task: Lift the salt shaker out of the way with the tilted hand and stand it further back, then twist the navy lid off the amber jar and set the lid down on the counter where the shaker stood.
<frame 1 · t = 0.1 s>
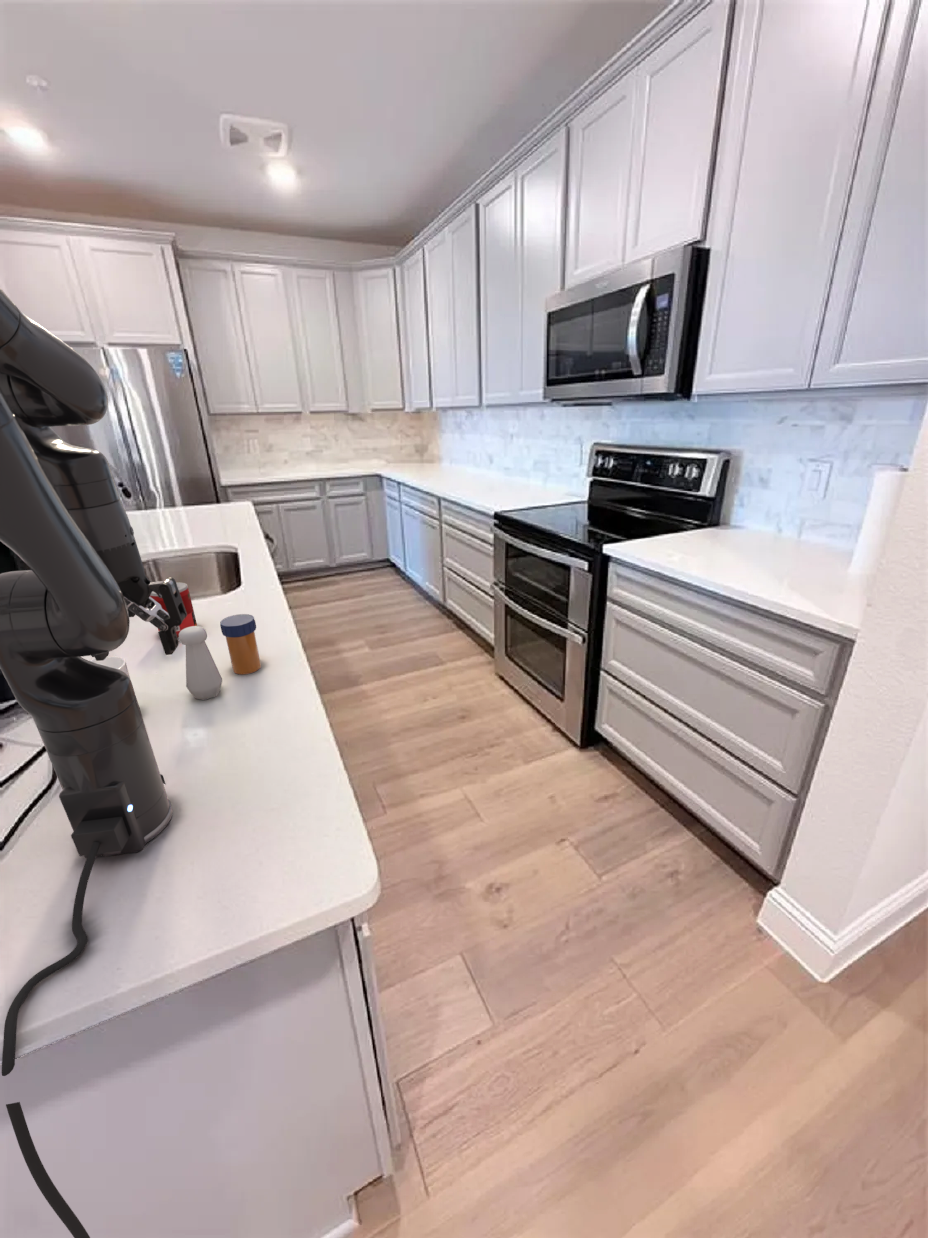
hand: (137, 654, 69), 17 cm above the table, tool pointing down, fingers open, 8 cm apart
white cup: (115, 721, 85), on the table
canned food: (179, 632, 118), on the table
salt shaker: (207, 694, 92), on the table
jar: (247, 668, 101), on the table
lid: (237, 621, 97), point 10 cm above the table, screwed on, not yet turned
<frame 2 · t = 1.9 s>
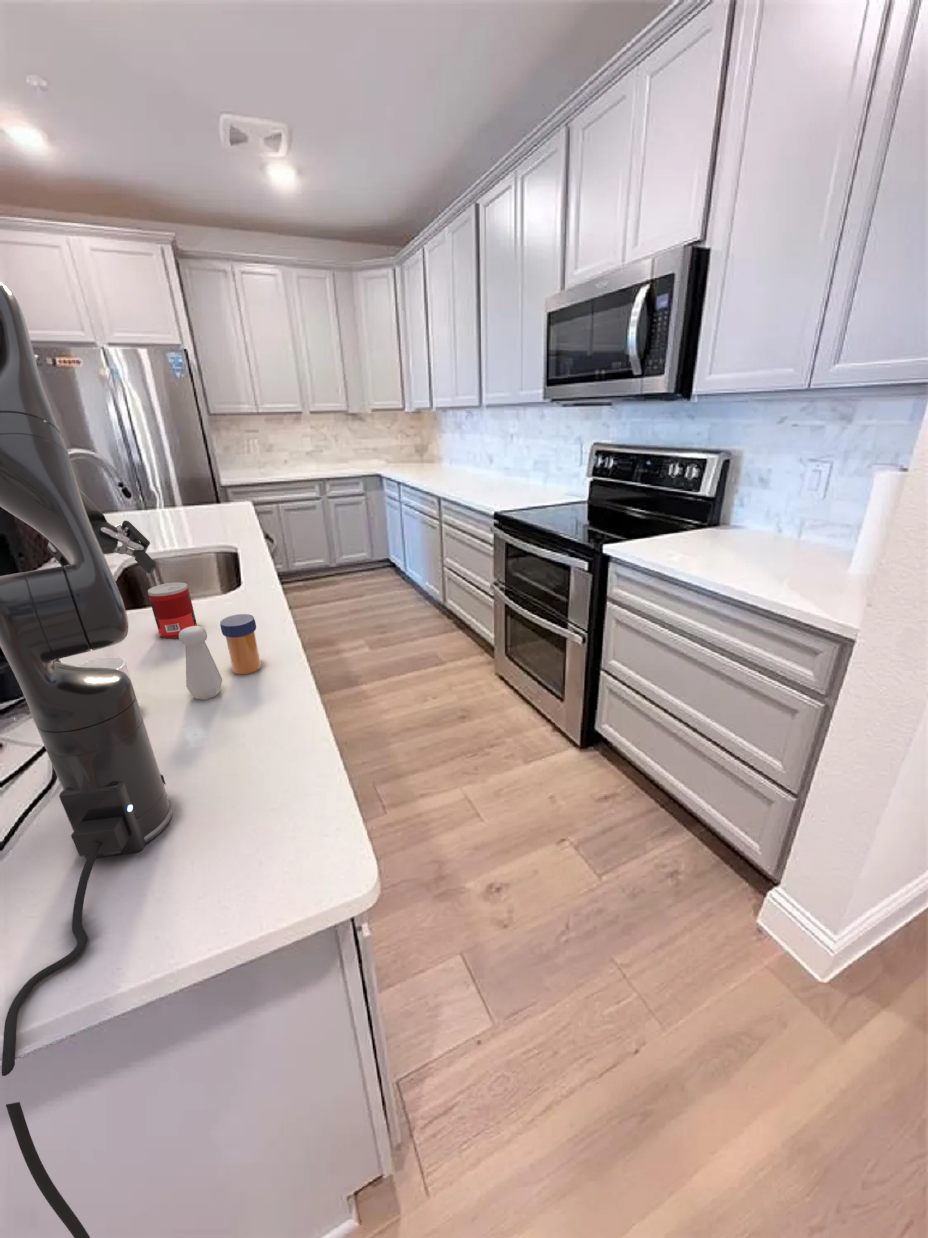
hand: (130, 577, 88), 21 cm above the table, tool tilted 45°, fingers open, 8 cm apart
nothing on the table moved.
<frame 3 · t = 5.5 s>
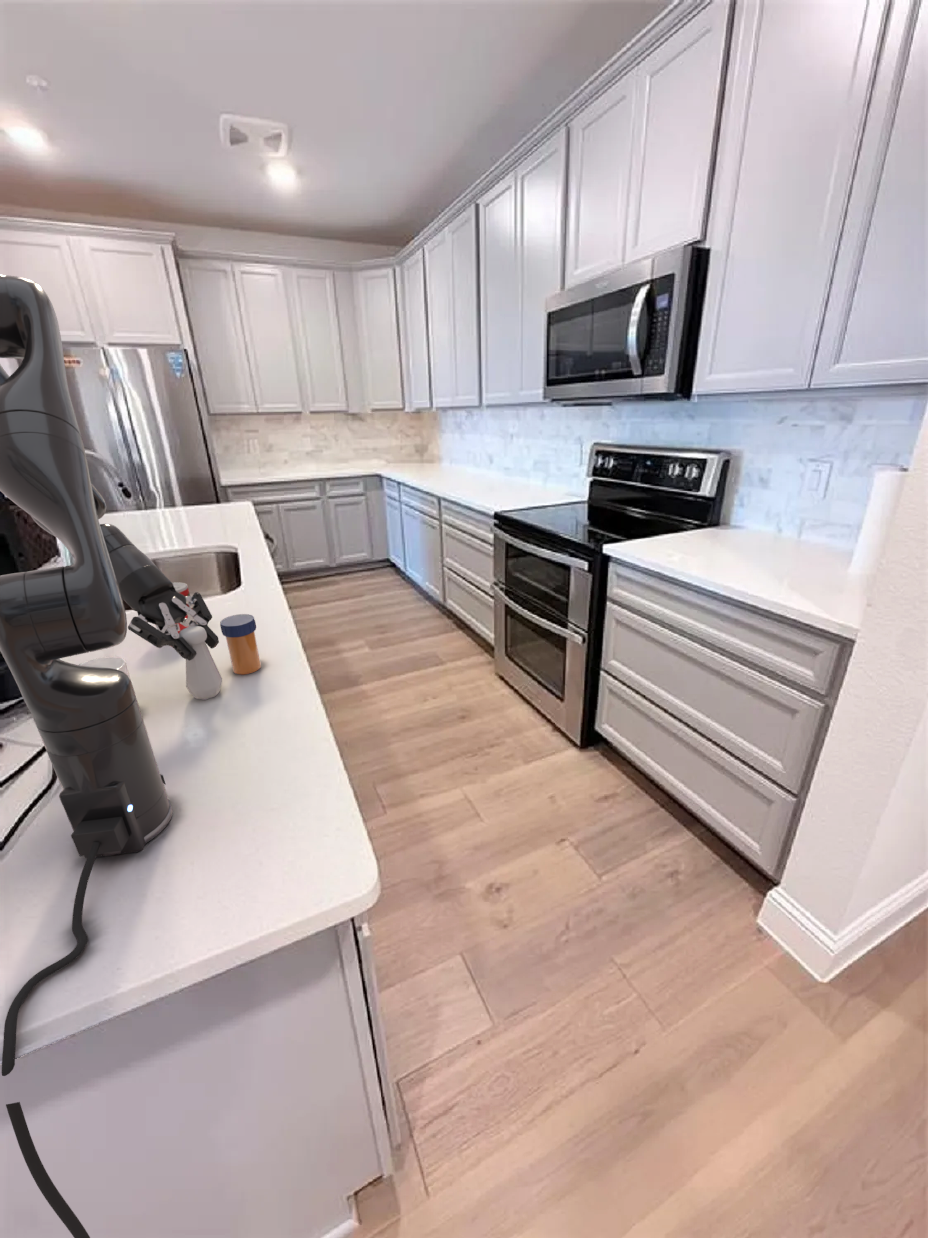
hand: (204, 650, 88), 9 cm above the table, tool tilted 45°, fingers closed on salt shaker, 4 cm apart
salt shaker: (207, 694, 92), on the table, touching gripper
everything else where it was.
when the fingers open (9 cm above the table, at t = 13.6 s): salt shaker stays where it is, on the table.
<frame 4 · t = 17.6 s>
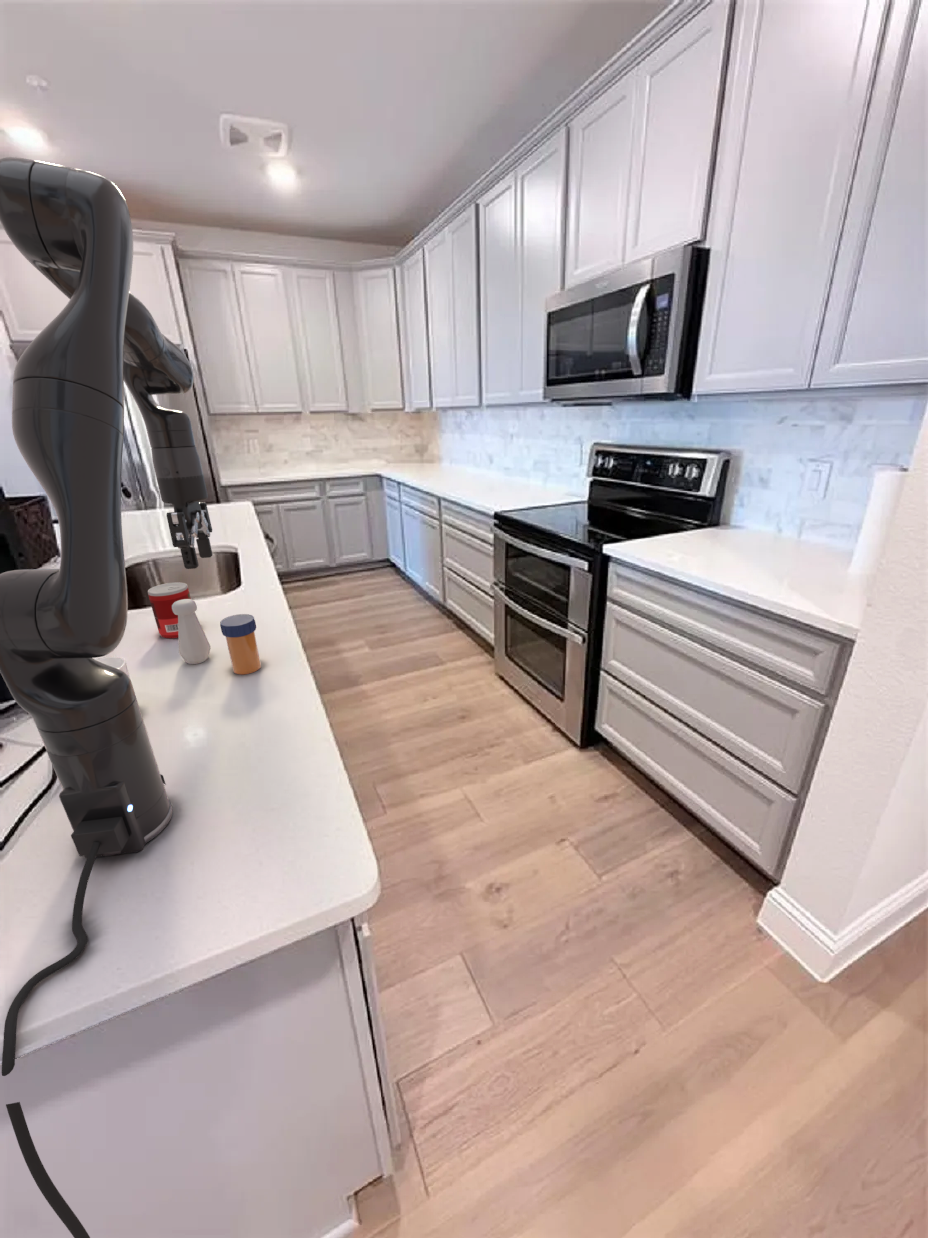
hand: (199, 562, 96), 21 cm above the table, tool pointing down, fingers open, 8 cm apart
salt shaker: (197, 660, 105), on the table
everything else where it was.
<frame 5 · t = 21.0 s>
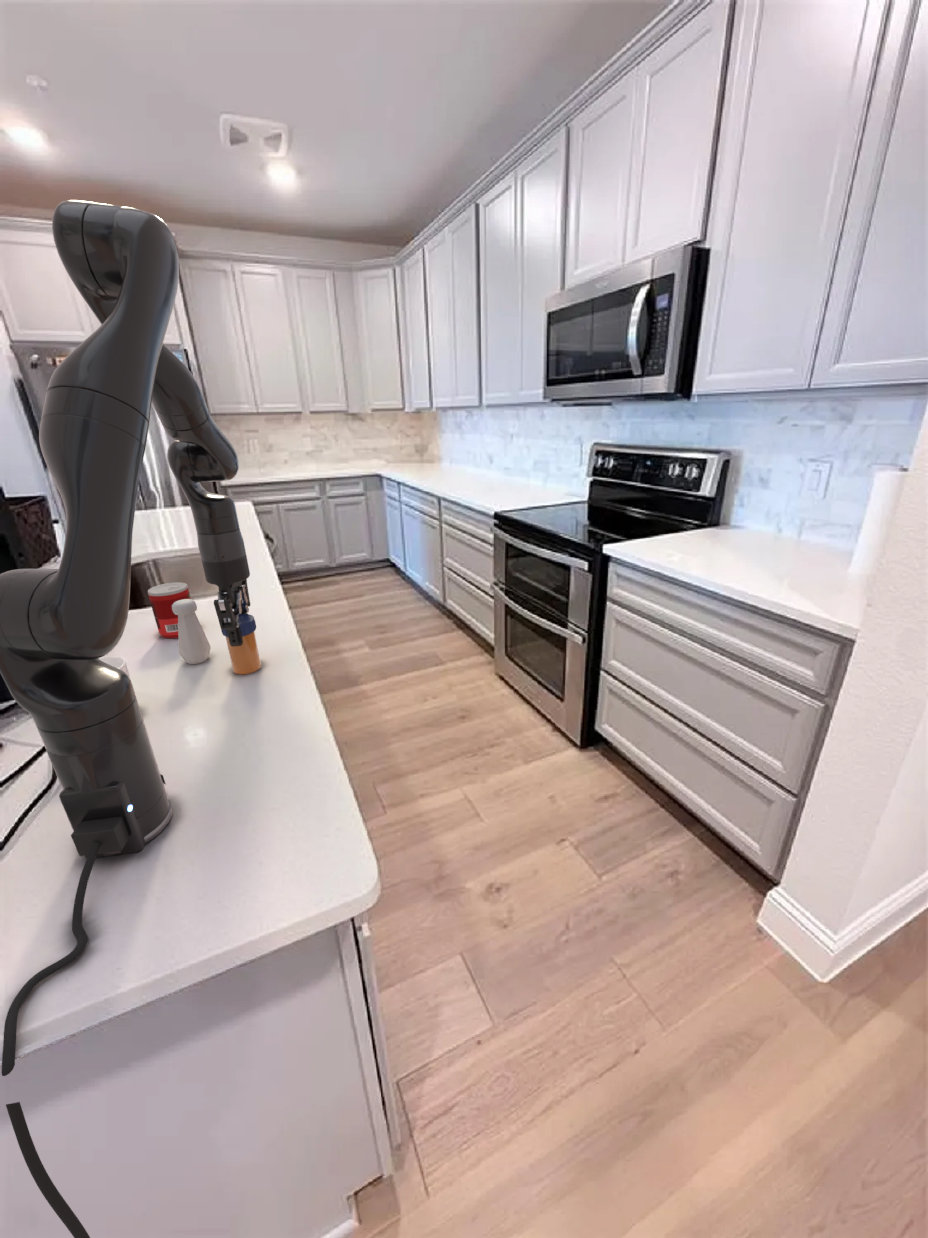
hand: (241, 637, 99), 7 cm above the table, tool pointing down, fingers closed on lid, 6 cm apart
lid: (237, 621, 97), point 10 cm above the table, screwed on, not yet turned, touching gripper
everything else where it was.
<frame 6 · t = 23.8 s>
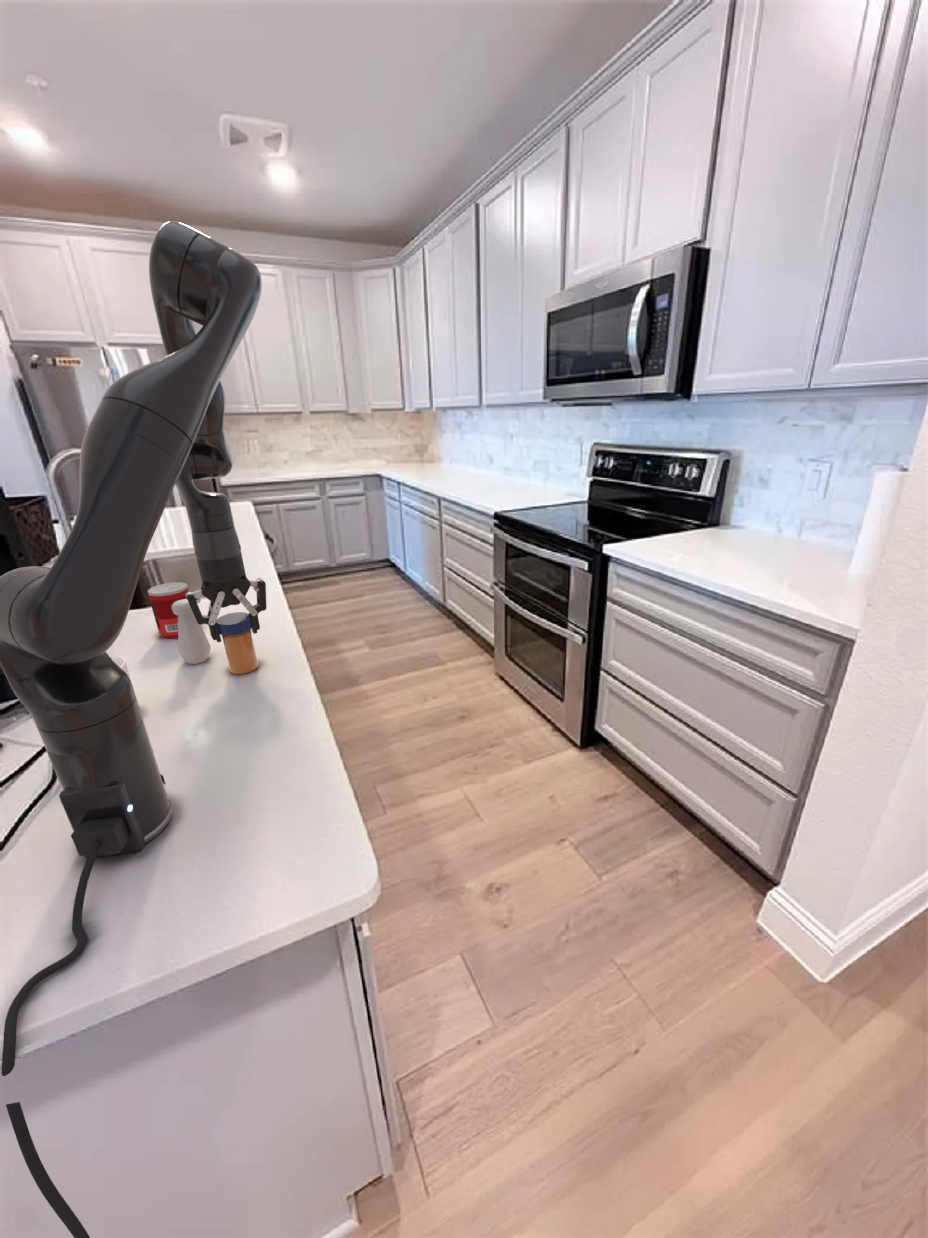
hand: (236, 636, 98), 7 cm above the table, tool pointing down, fingers closed on lid, 6 cm apart
jar: (244, 667, 101), on the table
lid: (233, 620, 97), point 10 cm above the table, turned 108° so far, risen 0.3 cm, still on its thread, touching gripper
everything else where it was.
when the fingers open (0 cm above the table, at t = 32.5 s): lid stays where it is, point 2 cm above the table.
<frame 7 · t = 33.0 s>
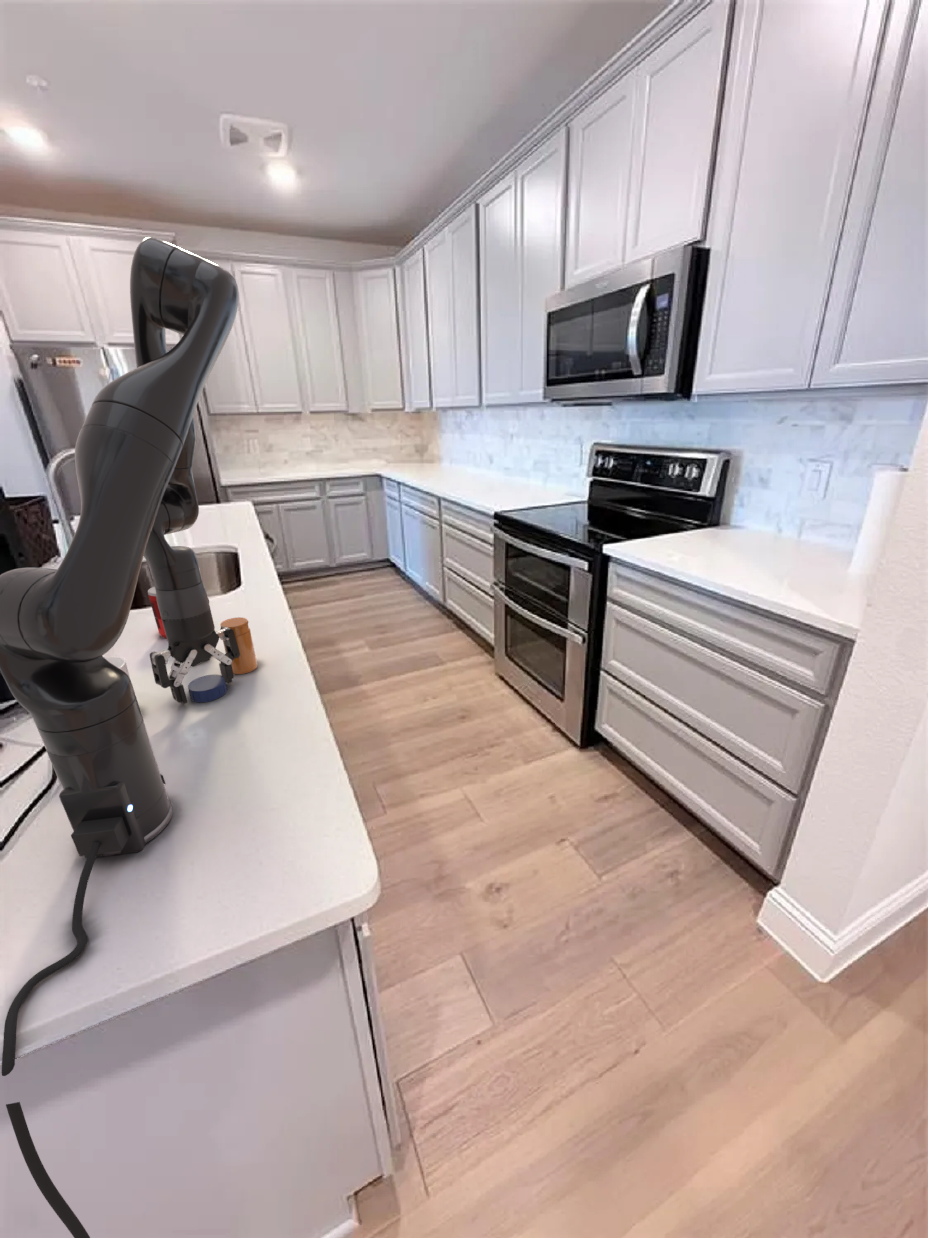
hand: (205, 691, 92), 0 cm above the table, tool pointing down, fingers open, 8 cm apart
jar: (243, 668, 101), on the table
lid: (206, 684, 92), point 2 cm above the table, off its thread
everything else where it was.
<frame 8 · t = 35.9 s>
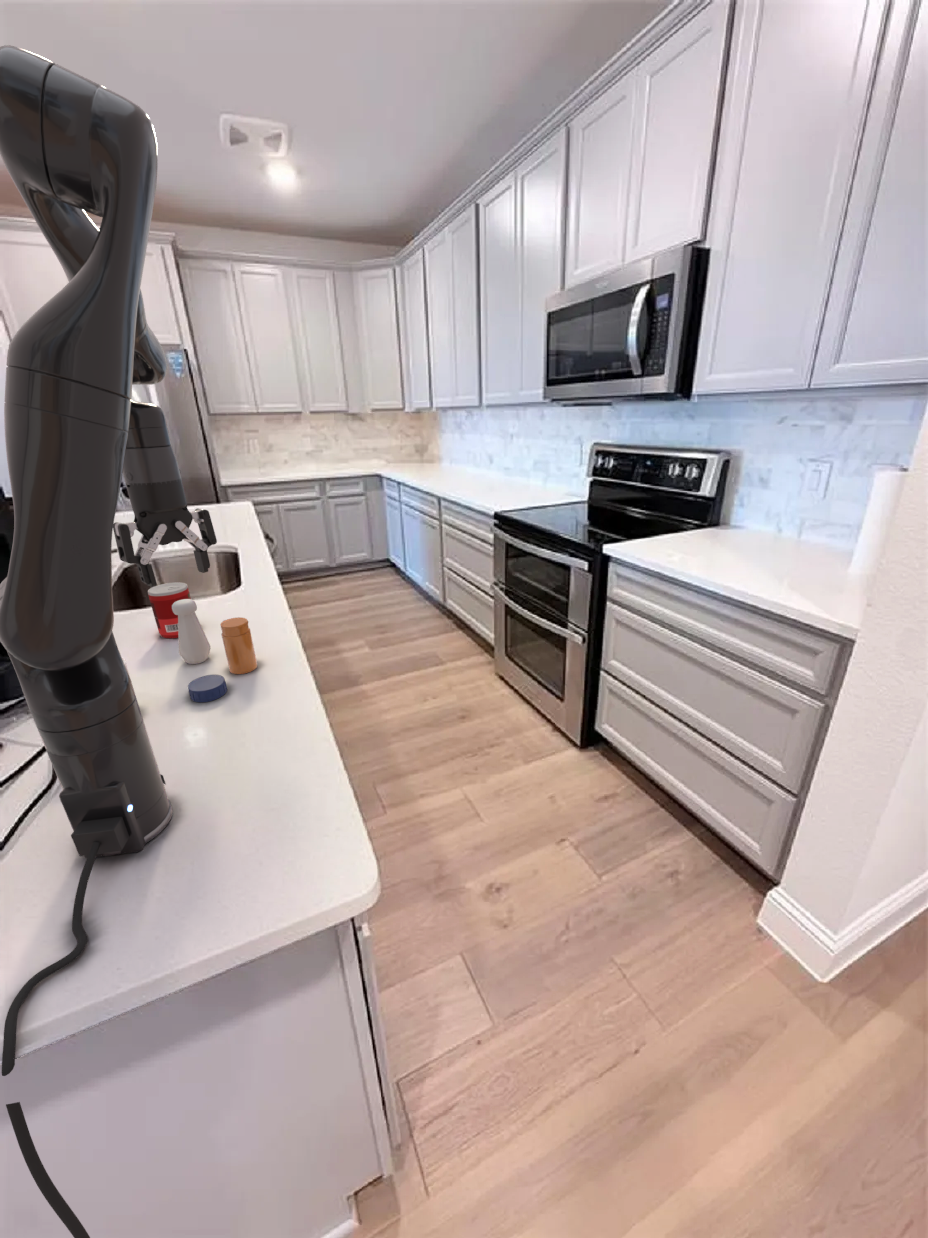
hand: (178, 578, 84), 22 cm above the table, tool pointing down, fingers open, 8 cm apart
nothing on the table moved.
at the end: lid came off its thread; lid point 1.9 cm above the table; the gripper is holding nothing; salt shaker inside the target area (0.2 cm from its centre), on the table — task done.
